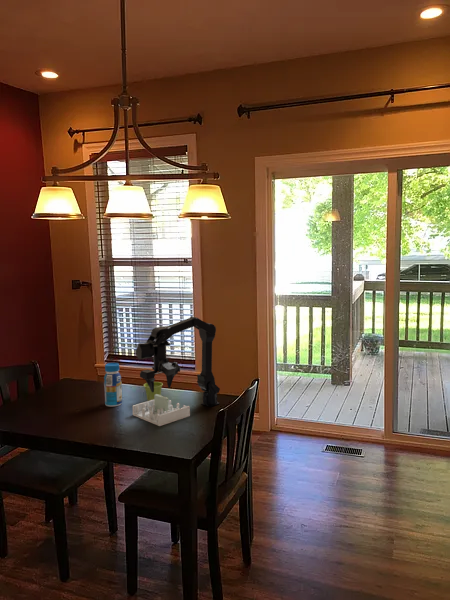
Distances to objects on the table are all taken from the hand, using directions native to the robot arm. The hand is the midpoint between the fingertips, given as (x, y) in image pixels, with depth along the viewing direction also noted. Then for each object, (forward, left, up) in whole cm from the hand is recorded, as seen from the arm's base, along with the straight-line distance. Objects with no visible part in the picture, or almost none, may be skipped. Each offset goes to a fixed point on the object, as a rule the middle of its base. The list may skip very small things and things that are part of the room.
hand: (161, 389), depth 215 cm
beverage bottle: (+6, -30, -12) cm, 33 cm away
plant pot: (-10, -19, -12) cm, 25 cm away
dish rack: (0, 0, -12) cm, 12 cm away
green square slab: (0, 0, -11) cm, 11 cm away
